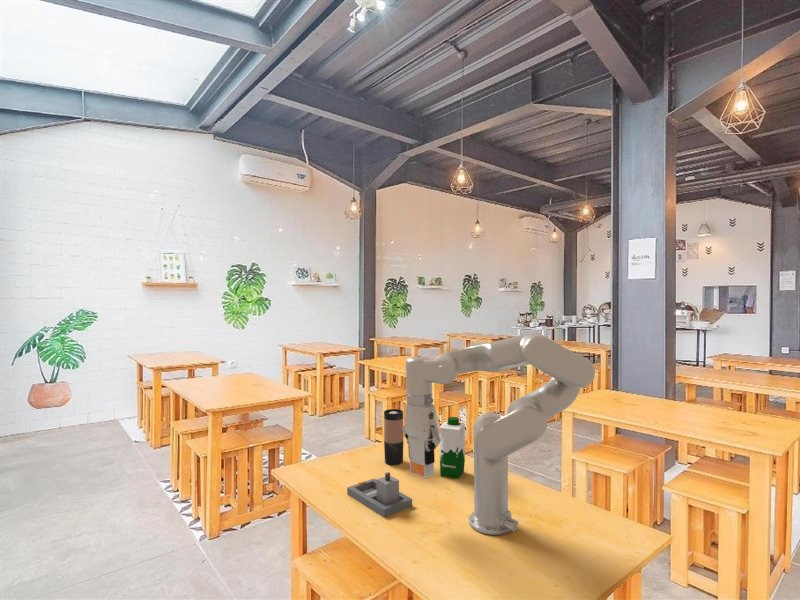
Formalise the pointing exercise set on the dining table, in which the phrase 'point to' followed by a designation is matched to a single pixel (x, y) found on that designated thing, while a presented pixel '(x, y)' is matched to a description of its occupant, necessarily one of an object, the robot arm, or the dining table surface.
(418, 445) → the skincare box
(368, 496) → the pdu strip
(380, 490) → the single plug
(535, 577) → the dining table surface
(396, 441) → the travel mug
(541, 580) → the dining table surface
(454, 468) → the milk carton
